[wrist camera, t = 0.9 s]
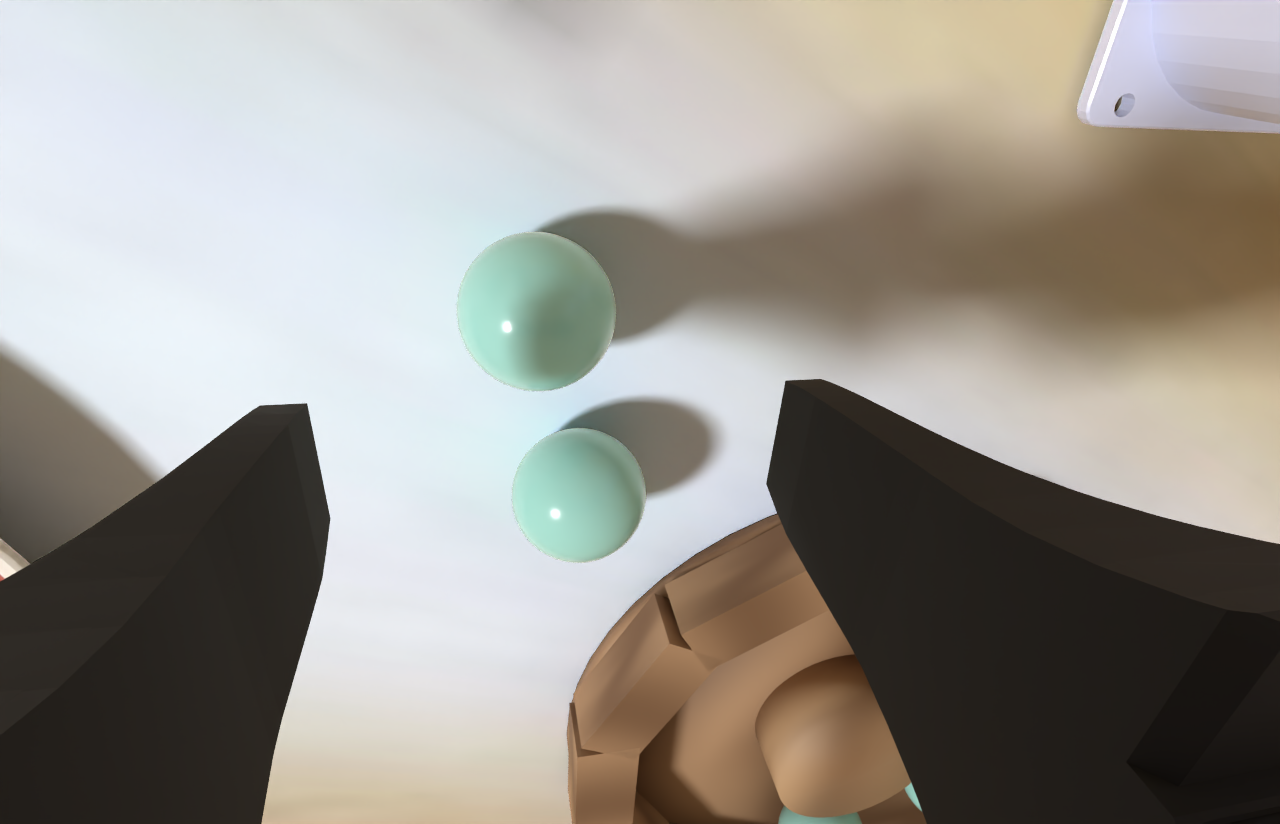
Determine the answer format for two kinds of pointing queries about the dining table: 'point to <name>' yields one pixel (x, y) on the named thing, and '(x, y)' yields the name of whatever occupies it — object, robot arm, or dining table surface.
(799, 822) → the seated bead
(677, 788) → the ring tray
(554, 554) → the bead
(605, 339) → the bead
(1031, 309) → the dining table surface
